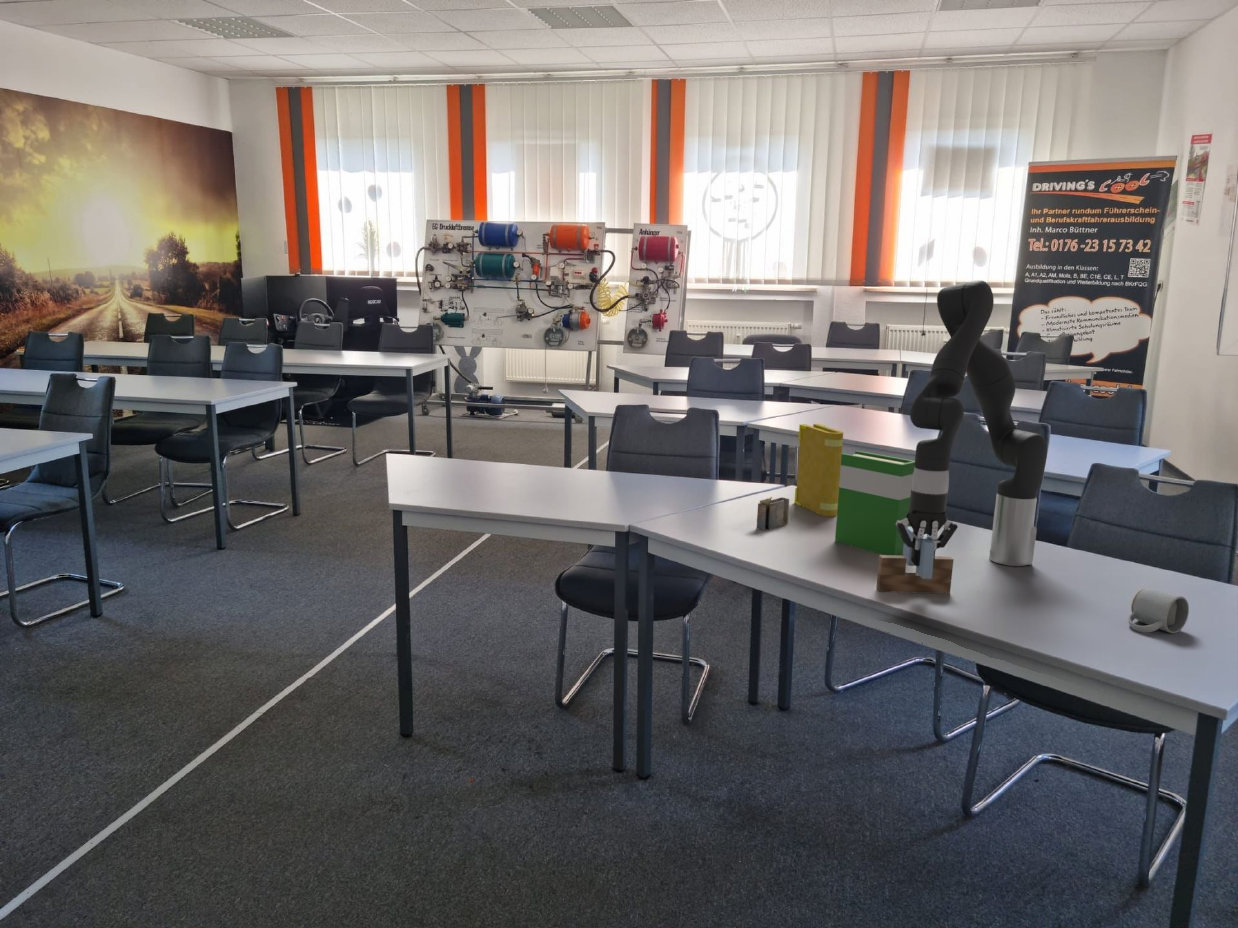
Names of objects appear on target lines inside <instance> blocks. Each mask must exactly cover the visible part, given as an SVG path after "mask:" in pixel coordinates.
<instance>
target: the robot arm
mask: <svg viewBox="0 0 1238 928" xmlns="http://www.w3.org/2000/svg"><path fill="white" fill-rule="evenodd" d="M937 293H938V294H937V296H936V305H937V310H938V314H939V317H940V319H941V321H942V323H943V325H944V327H945V329H946V331H947V333H948V335H949V339H948V341H947V342H946V343H945V344H943V346H942V347H941V348H940V350H939V351H938V353H937V354H936V356H935V358H934V361H933V363H932V367H931V370H930V373H929V376H928V379H927V382H926V383H925V385H924V386H923V388H922V389H921V390H920V391H919V393H918V394H917V395H916V397H915V398H914V401H912V404H911V405H910V410H909V418H910V422H911V423H912V425H913V426H915V427H916V428H918V429H924V430H925V429H926V430H934V431H942V433H941V436H940V437H937V438H931V439H929V438H928V439H924V440H923V439H922V440H919V441H917V444H916V446H915V457H914V461H915V465H914V466H915V467H914V472H913V476H912V485H911V495H910V506H909V512H908V514H907V516H906V518H905V519H903V520H901V521H899V520H897V521H895V525H896V527H897V529H898V531H899V534H900V536H901V538H902V540H903V542H904V543H905V544H906V545H907V546H908V547H911V548H912V554H911V561H912V562H913V563H914V565H915V566H914V567H916V566H919V565H920V554H921V550H920V547H921V542H922V540H923V536H924V535H925V536H927V537H928V538H929V539H930V540H932V541H933V542H934V543H935V549H934V560H935V556H936V551H937V549H944V548H945V547H946V545H947V544H948V542H949V540H951V539H952V536H953V535H954V534H955V532H956V531H957V529H958V525H957V523H955V522H954V521H951V520H948V517H947V514H946V511H947V503H948V493H949V489H950V482H949V481H950V472H949V471H950V462H951V460H950V459H951V452H952V447H953V444H954V440H955V438H956V435H957V433H958V430H959V428H960V426H961V423H962V422H963V418H964V414H965V413H964V412H965V409H964V405H963V403H962V402H961V400H959V399H957V398H955V397H956V396H958V395H959V393H960V392H961V390H962V388H963V384H964V380H965V377H966V374H967V378H968V381H969V383H970V386H971V389H972V390H973V394H974V395H975V397H976V399H977V402H978V404H979V407H980V408H979V409H980V410H981V413H982V416H983V419H984V421H985V424H986V427H987V432H988V434H989V439H990V443H991V446H992V450H993V453H994V455H995V458H996V459H997V460H998V461H999V462H1000V463H1001V464H1003V465H1005V466H1008V467H1012V468H1015V470H1014V474H1013V475H1014V476H1013V477H1012V478H1010V479H1002V480H1001V481H999V482H998V483H997V487H996V498H995V505H994V506H995V507H994V513H993V521H992V522H993V523H992V532H991V540H990V549H989V560H990V561H992V562H994V563H997V564H1000V565H1003V566H1008V567H1009V566H1010V567H1024V566H1027V565H1028V566H1029V565H1033V560H1034V553H1035V546H1036V537H1037V529H1038V528H1037V527H1036V526H1035V515H1036V510H1037V509H1036V508H1037V507H1036V506H1037V501H1038V499H1037V498H1038V494H1039V493H1038V492H1039V490H1040V488H1041V485H1042V483H1043V478H1044V474H1045V467H1046V463H1047V456H1048V443H1047V441H1046V439H1045V438H1044V436H1043V435H1042V434H1039V433H1037V432H1031V431H1026V430H1021V429H1018V427H1017V426H1016V423H1015V422H1014V420H1013V417H1012V416H1013V415H1012V414H1011V406H1012V403H1013V400H1014V397H1015V395H1016V394H1015V393H1016V382H1015V379H1014V376H1013V373H1012V370H1011V367H1010V365H1009V363H1008V361H1007V360H1006V358H1005V356H1003V355H1002V354H1001V353H1000V352H999V351H997V350H996V349H995V348H993V347H992V346H991V345H989V344H988V343H986V342H985V341H983V340H982V339H981V337H982V335H983V332H984V330H985V328H986V326H987V324H988V322H989V320H990V319H991V315H992V313H993V310H994V309H993V308H994V304H995V303H994V299H995V298H994V294H993V291H992V288H991V286H990V285H989V283H987V282H986V281H984V280H972V281H968V282H963V283H958V284H953V285H949V286H946V287H944V288H941V289H940V290H939V292H937ZM908 523H909V524H910V525H911V527H912V529H913V533H912V536H913V538H912V541H911V540H910V537H909V535H908V533H907V531H906V529H907V528H908ZM942 527H943V530H942V531H941V533H940V534H939V536H938V532H939V531H940V530H941V529H942ZM934 560H933V563H934Z"/></svg>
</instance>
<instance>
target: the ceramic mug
mask: <svg viewBox="0 0 1238 928" xmlns="http://www.w3.org/2000/svg"><path fill="white" fill-rule="evenodd" d="M1189 604H1190V603H1189V602H1188V600H1187V599H1186V598H1185V597H1184V596H1183V595H1178V594H1173V593H1169V592H1164V591H1161V590H1156V589H1151V588H1143V589H1141V590H1139V591H1137V593H1136V594H1135V595H1134V597H1133V599H1132V601H1131V607H1130V609H1131V610H1130V611H1131V614H1129V616H1128V624H1129V627H1130V628H1131V629H1132V630H1133V631H1136V632H1138V633H1153V632H1155V631H1157V630H1161V631H1163V632H1167V633H1169V634H1176V633H1179V632H1180V631H1181V630H1182V629H1183V628H1184V627H1185V625H1186V624H1187V621H1188V618H1189V614H1190V613H1189V612H1190V608H1189V607H1190V606H1189ZM1135 620H1137V621H1138V622H1140V623H1142V624H1145V625H1138V624H1135V623H1134V621H1135Z"/></svg>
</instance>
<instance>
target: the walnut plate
mask: <svg viewBox="0 0 1238 928" xmlns="http://www.w3.org/2000/svg"><path fill="white" fill-rule="evenodd" d="M906 559H907V558H906V557H905V556H903V555H883V554H879V556H878V566H877V577H876V590H877V591H878V592H879V593H910V594H911V593H913V592H915V593H916V594H917V593H919V594H920V593H921V594H951V587H952V586H951V585H952V578H953V568H954V558H953V557H951V556H937V555H935V560H934V563H933V571H932V579H922V578H921V577H920V576H919V575H918V574H917V573H916V572H906V569H907V568H906V567H907V564H906ZM913 594H914V593H913Z"/></svg>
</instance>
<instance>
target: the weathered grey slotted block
mask: <svg viewBox="0 0 1238 928" xmlns="http://www.w3.org/2000/svg"><path fill="white" fill-rule="evenodd" d="M789 507H790V499H789V498H786V497H783V496H781V497H778V498H774V499H773V497H772V496H771V497H769V498H765V499H761V500H759V503H758V504H757V516H756V529H757V530H759V531H760V530H761V531H765V530H766V527H767V530H769V529H773V528H777V527H781V526H784V525H788V524H789V512H790V511H789V510H790V509H789ZM787 523H788V524H787Z"/></svg>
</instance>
